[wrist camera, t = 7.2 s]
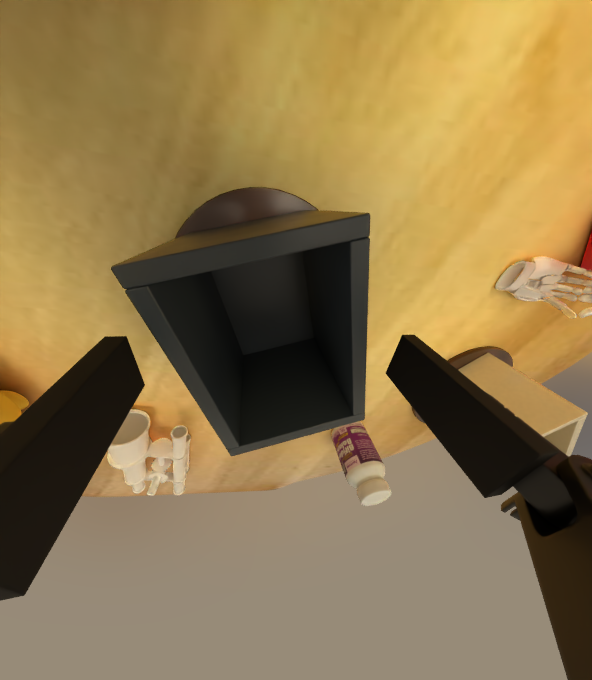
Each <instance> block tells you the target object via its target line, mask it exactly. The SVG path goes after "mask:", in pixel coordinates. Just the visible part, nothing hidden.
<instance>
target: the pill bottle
mask: <svg viewBox="0 0 592 680" xmlns="http://www.w3.org/2000/svg"><path fill="white" fill-rule="evenodd" d="M331 435H332V440H333V443H334V445H335V448H336V451H337V454H338V457H339V460H340V462H341V465H342V468H343V471H344V474H345V477H346V479H347V481H348V483H349V484H350V485H351V486H352V487H354V488H357V495H358V497H359V500H360V502H361V504H362V505H364V506H372V505H375V504H378V503H381V502H383V501H385V500H386V499H388V498H389V497H390V496H391V490H390V488H389V486H388V484H387V482H386V481H385V480H384V479H383V478H384V475H385V467H384V464H383V462H382V460H381V458H380V456H379V454H378V452H377V450H376V449H375V447H374V445H373V443H372V441H371V439H370V437H369V435H368V433H367V431H366V429H365V427H364V425H363V424H362V423H361V422H360V421H358V422H354V423H351V424H347V425H343V426H340V427H336V428H334V429H333V431H332V434H331Z"/></svg>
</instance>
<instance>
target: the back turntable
mask: <svg viewBox="0 0 592 680" xmlns="http://www.w3.org/2000/svg"><path fill="white" fill-rule="evenodd" d="M486 353H490V354H492V355H493V356H495V357H497V358H498V359H500V360H501V361H503V362H505V363H506V364H508V365H510V366H511V367H513V361H512V358H511V356H510V355H509V353H507V352H506V351H504V350H502V349H500V348H497V347H480V348H476V349H472V350H469V351H466V352H464V353H462V354H459V355H457V356H455V357H453V358H452V359H450V360H448V361H447V362H449V363H450V364H451V365H452V366H454V367H455V368H456V369H457V370H458V369H460V368H462V367H463V366H465V365H467V364H469V363H470V362H472V361H474V360H476V359H478V358H479V357H481V356H483V355H485V354H486ZM412 409H413V413H414V415H415V416H416V417H417V418H418V419H419V420H420V421H421V422H423V423H425V422H424V421H423V420H422V418H421V417H420V416H419V415H418V413H417V412H416V411H415V410H414V408H413V407H412Z"/></svg>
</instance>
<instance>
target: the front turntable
mask: <svg viewBox="0 0 592 680" xmlns="http://www.w3.org/2000/svg"><path fill="white" fill-rule="evenodd" d="M301 210H318V209H316V208H315V207H314V206H312V205H311V204H310V203H308V202H307V201H305V200H303V199H301V198H299V197H297V196H295V195H293V194H290V193H287V192H284V191H281V190H277V189H271V188H259V187H249V188H243V189H236V190H233V191H229V192H226V193H223V194H220V195H218V196H217V197H215V198H213V199H211V200H209V201H207V202H206V203H204V204H203V205H202V206H201V207H199V208H198V209H197V210H195V211H194V212H193V213H192V215H191V216H190V217H189V218H188V219H187V220H186V221H185V222H184V224H183V225H182V227H181V228H180V230H179V231H178V233H177V235H176V237H175V239H176V238H178V237H181V236H183V235H185V234H188V233H193V232H198V231H202V230H207V229H212V228H217V227H222V226H227V225H232V224H237V223H242V222H247V221H252V220H257V219H262V218H267V217H272V216H277V215H281V214H286V213H291V212H296V211H301Z"/></svg>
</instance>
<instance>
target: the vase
mask: <svg viewBox="0 0 592 680" xmlns="http://www.w3.org/2000/svg"><path fill="white" fill-rule="evenodd" d="M580 268H584V269H587V270H592V231H591V234H590V238H589V241H588V244H587V247H586V251H585V254H584V257H583V260H582V264H581V267H580ZM579 275H580V274H579ZM582 275H583V274H582Z"/></svg>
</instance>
